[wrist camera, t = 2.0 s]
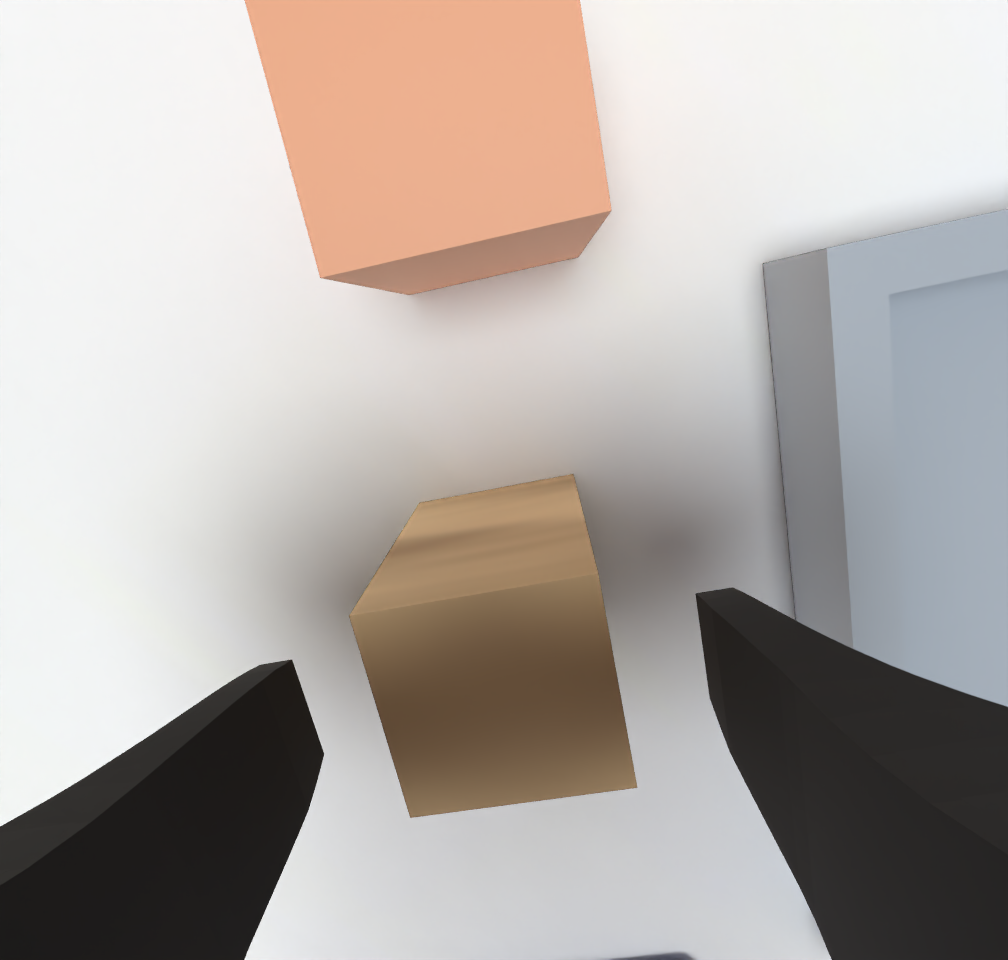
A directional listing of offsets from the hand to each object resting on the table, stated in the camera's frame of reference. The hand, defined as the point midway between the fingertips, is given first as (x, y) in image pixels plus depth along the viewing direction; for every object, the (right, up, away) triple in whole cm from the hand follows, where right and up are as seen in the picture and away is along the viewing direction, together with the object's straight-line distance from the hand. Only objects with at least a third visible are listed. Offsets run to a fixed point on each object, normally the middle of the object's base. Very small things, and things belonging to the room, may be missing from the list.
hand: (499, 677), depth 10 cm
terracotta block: (-1, +10, +3) cm, 10 cm away
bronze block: (0, +1, +5) cm, 5 cm away
